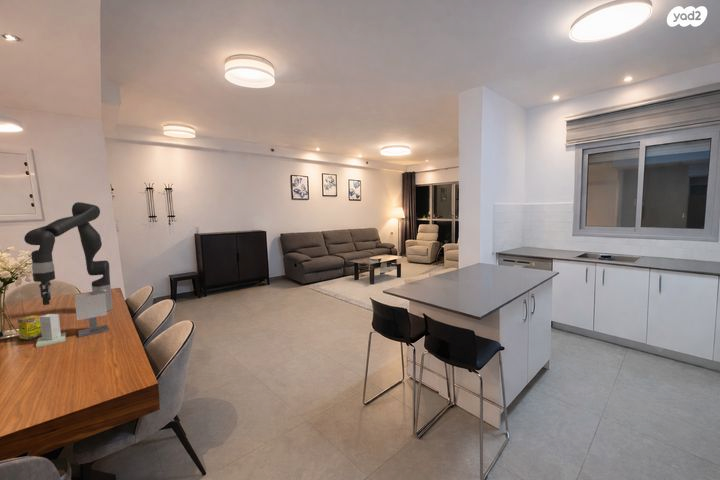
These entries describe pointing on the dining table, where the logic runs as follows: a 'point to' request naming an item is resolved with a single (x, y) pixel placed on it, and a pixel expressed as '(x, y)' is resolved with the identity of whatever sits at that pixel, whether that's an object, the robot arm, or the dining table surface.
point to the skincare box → (50, 326)
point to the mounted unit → (91, 311)
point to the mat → (47, 342)
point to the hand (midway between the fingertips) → (47, 302)
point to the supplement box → (29, 328)
